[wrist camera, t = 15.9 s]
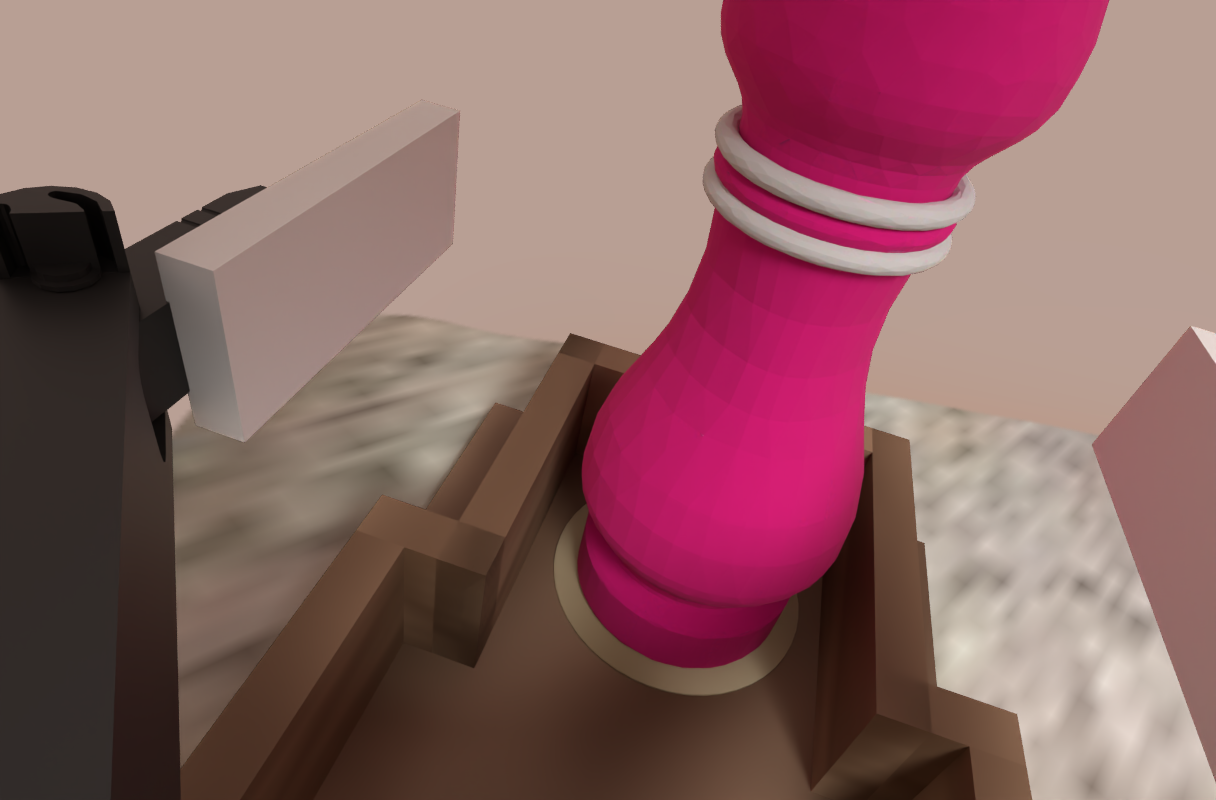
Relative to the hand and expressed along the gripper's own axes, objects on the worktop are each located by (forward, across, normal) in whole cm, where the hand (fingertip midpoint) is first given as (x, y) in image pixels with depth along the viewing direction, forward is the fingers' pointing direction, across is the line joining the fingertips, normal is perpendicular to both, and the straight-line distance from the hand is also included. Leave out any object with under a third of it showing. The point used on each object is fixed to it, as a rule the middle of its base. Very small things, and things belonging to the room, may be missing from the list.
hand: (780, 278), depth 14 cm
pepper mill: (+2, 0, -12) cm, 12 cm away
